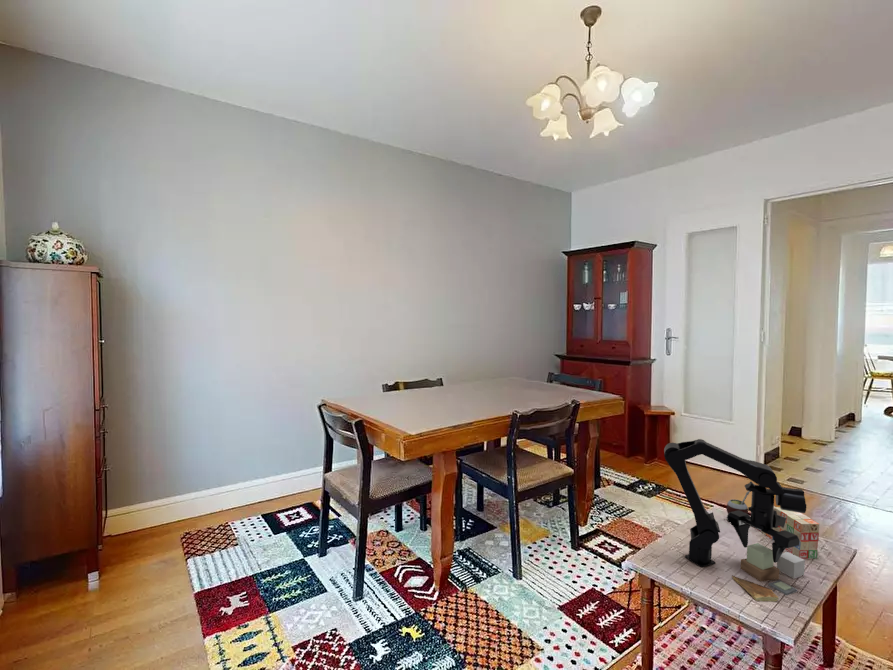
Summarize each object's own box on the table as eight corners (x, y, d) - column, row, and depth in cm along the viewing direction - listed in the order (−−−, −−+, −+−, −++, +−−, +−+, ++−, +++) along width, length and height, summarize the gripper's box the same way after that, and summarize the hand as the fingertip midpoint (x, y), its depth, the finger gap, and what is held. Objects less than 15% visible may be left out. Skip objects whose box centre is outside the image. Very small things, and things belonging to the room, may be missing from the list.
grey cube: (793, 578, 137) (794, 563, 137) (776, 570, 142) (777, 554, 141) (804, 575, 139) (804, 559, 138) (786, 566, 143) (787, 551, 143)
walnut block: (760, 583, 135) (760, 571, 135) (740, 569, 142) (740, 559, 142) (778, 580, 137) (779, 569, 136) (758, 567, 143) (758, 556, 143)
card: (786, 595, 129) (786, 592, 129) (768, 585, 133) (768, 582, 133) (797, 591, 131) (797, 588, 130) (779, 581, 135) (779, 578, 135)
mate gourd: (721, 518, 177) (723, 481, 176) (740, 517, 177) (741, 480, 177) (735, 527, 169) (737, 488, 168) (754, 526, 170) (756, 488, 169)
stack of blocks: (754, 527, 169) (755, 496, 169) (770, 527, 169) (771, 496, 169) (799, 559, 148) (801, 523, 147) (817, 559, 148) (819, 523, 147)
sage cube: (773, 566, 138) (774, 550, 138) (762, 569, 136) (763, 554, 136) (757, 558, 142) (757, 543, 142) (746, 561, 141) (747, 545, 140)
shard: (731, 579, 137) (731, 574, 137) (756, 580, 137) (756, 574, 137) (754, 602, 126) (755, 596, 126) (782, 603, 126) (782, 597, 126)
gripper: (812, 514, 132) (809, 565, 133) (750, 490, 150) (748, 535, 151) (788, 520, 128) (785, 573, 129) (726, 495, 146) (724, 541, 147)
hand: (760, 554), depth 139 cm, fingers open, 9 cm apart
